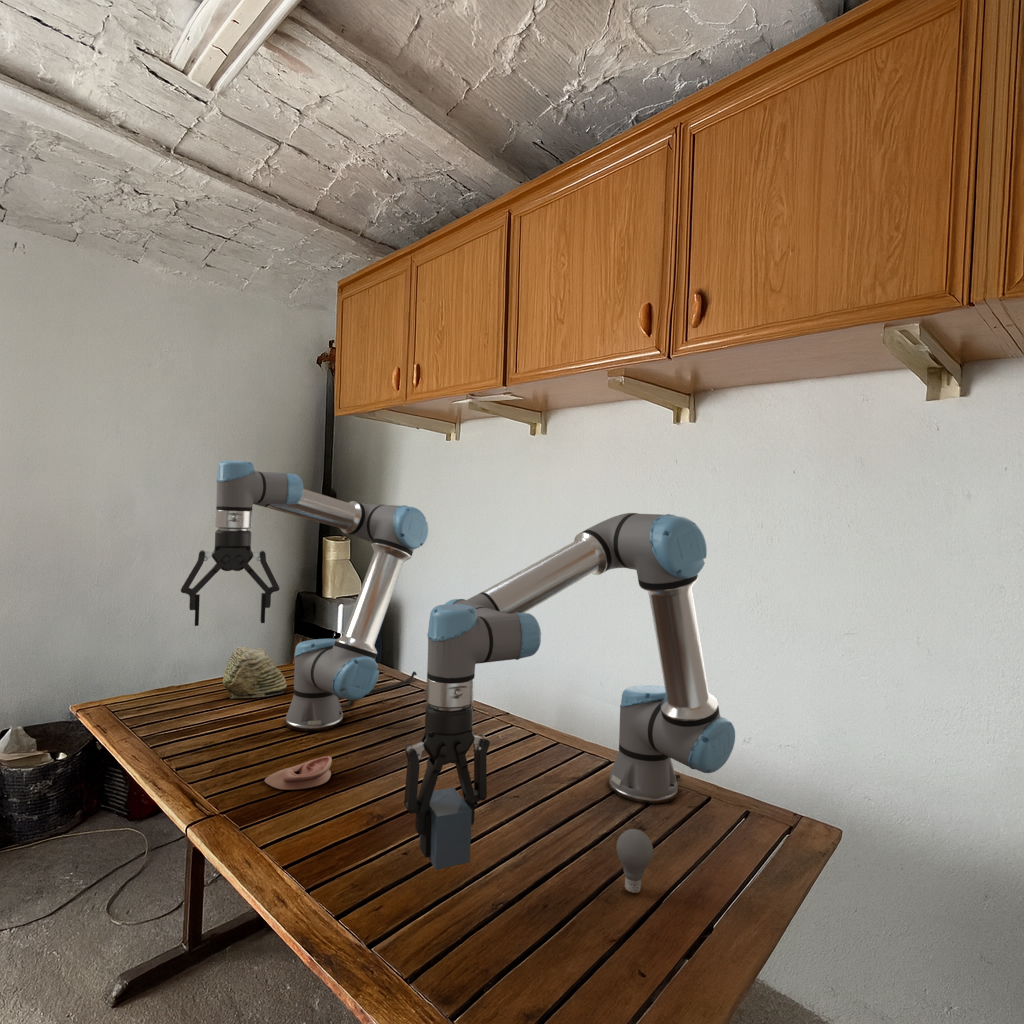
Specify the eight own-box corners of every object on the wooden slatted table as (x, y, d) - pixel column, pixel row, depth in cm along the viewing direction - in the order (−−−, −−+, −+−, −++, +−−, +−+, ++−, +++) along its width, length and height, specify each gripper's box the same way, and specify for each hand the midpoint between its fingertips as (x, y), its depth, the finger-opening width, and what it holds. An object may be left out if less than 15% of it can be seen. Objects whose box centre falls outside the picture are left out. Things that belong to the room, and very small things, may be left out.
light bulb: (610, 879, 108) (613, 822, 108) (644, 879, 109) (647, 822, 109) (619, 902, 102) (622, 840, 102) (655, 901, 103) (658, 840, 103)
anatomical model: (256, 768, 137) (286, 748, 148) (256, 786, 137) (285, 765, 148) (313, 776, 134) (338, 755, 145) (312, 794, 134) (338, 772, 145)
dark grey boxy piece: (419, 842, 103) (421, 792, 103) (451, 835, 105) (453, 787, 105) (435, 870, 96) (437, 816, 96) (469, 862, 98) (471, 810, 98)
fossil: (218, 695, 195) (220, 647, 195) (278, 685, 208) (279, 640, 207) (228, 703, 189) (230, 653, 188) (289, 692, 201) (290, 645, 201)
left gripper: (169, 529, 134) (166, 629, 134) (293, 531, 144) (290, 624, 145) (171, 527, 141) (168, 622, 141) (290, 529, 151) (286, 618, 152)
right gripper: (398, 718, 93) (392, 874, 93) (513, 705, 101) (507, 849, 101) (385, 702, 99) (380, 848, 100) (494, 691, 107) (488, 826, 108)
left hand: (230, 623), depth 143 cm, fingers open, 13 cm apart
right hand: (444, 848), depth 101 cm, fingers closed on dark grey boxy piece, 6 cm apart
